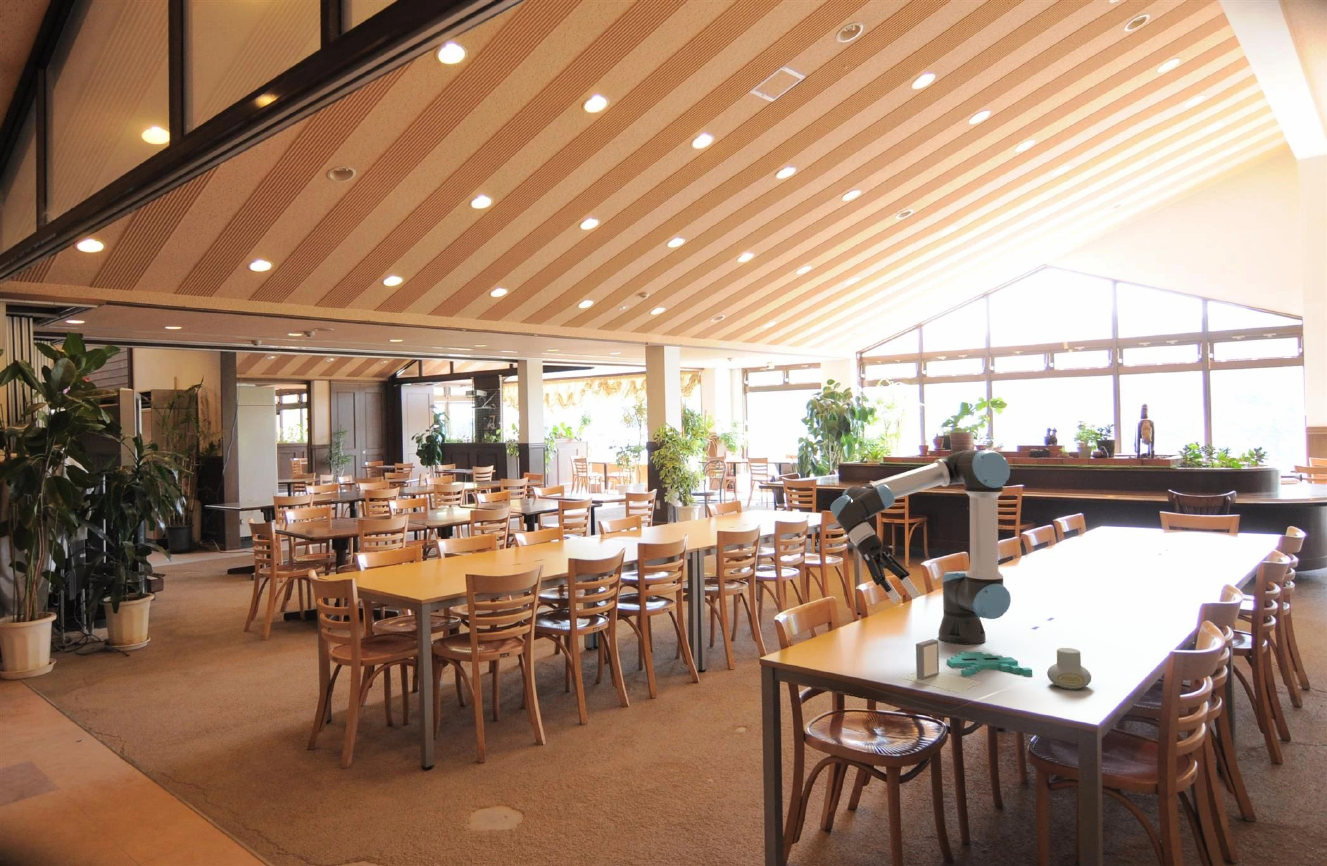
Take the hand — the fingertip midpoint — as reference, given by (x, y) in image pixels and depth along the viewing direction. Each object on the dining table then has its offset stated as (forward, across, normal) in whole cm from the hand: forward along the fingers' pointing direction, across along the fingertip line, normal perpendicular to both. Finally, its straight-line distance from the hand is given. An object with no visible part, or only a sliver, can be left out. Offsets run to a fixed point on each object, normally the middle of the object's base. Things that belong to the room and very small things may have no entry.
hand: (907, 598), depth 244 cm
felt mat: (+24, +2, -5) cm, 25 cm away
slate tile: (+21, +1, -8) cm, 23 cm away
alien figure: (+26, -20, -2) cm, 33 cm away
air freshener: (+42, -15, +18) cm, 48 cm away
